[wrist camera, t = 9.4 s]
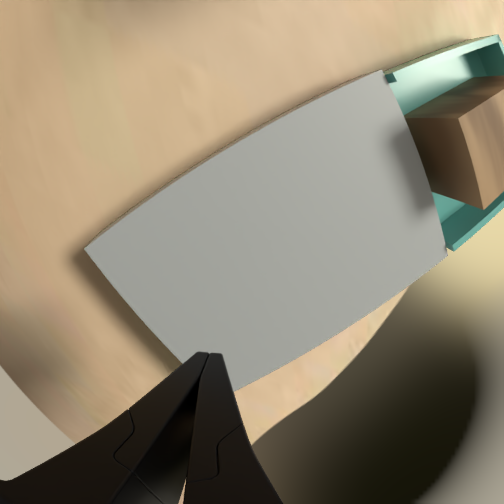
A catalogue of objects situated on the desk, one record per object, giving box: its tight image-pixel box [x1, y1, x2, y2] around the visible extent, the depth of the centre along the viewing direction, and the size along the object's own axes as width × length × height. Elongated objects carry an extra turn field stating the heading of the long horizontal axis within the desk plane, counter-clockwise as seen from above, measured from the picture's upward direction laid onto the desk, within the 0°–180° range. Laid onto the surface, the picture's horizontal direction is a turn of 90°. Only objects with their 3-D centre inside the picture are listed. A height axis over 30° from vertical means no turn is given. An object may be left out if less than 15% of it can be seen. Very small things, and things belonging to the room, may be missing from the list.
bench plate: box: [84, 70, 448, 392], centre depth 19 cm, size 20×14×3 cm
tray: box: [383, 35, 504, 251], centre depth 18 cm, size 14×13×4 cm
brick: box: [404, 76, 504, 210], centre depth 16 cm, size 6×6×10 cm
